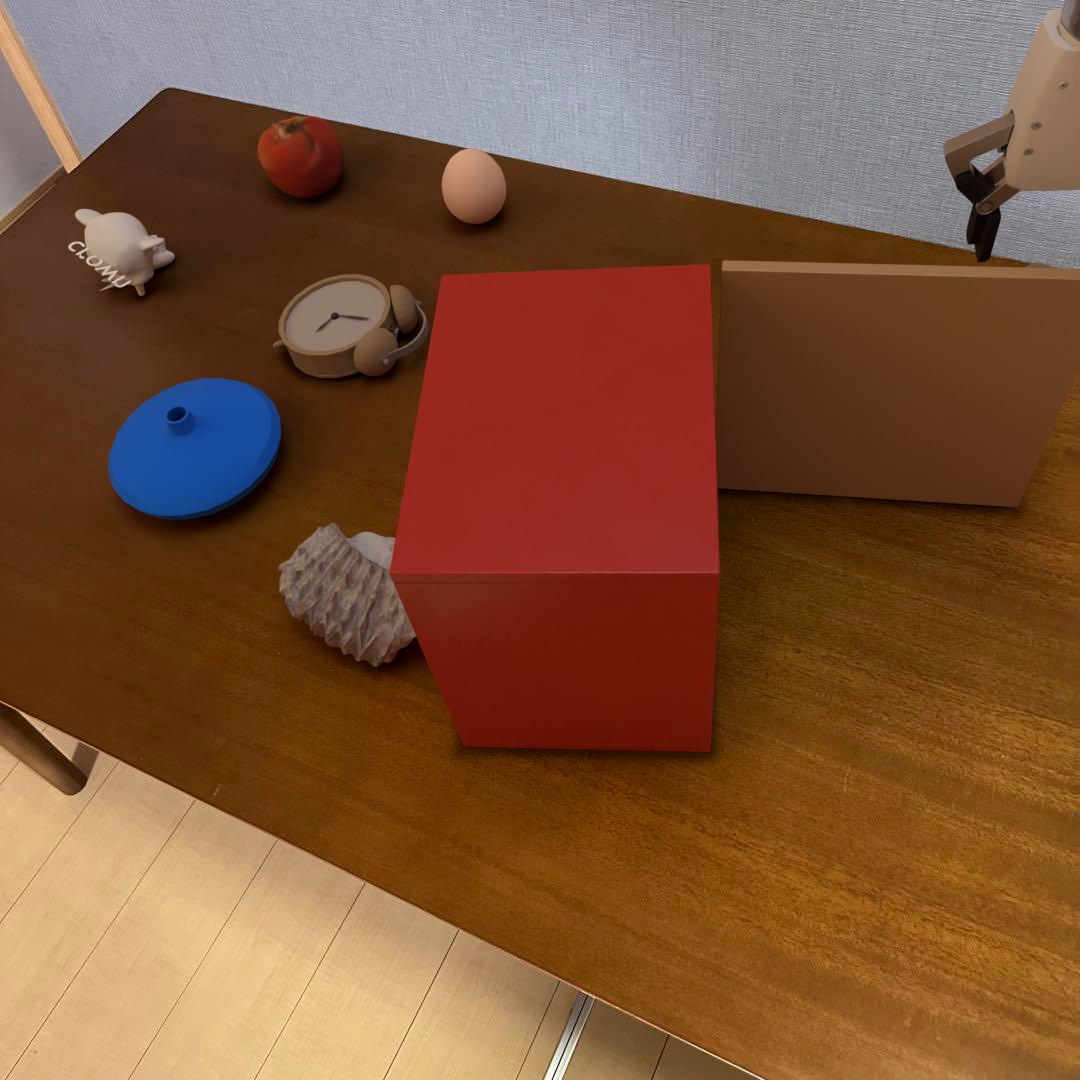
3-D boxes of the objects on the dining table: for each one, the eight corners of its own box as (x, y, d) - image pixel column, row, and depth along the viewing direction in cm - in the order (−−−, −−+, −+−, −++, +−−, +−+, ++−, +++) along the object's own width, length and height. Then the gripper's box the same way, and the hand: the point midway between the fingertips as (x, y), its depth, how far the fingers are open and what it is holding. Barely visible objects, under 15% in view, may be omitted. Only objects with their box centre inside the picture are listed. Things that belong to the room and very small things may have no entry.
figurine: (133, 257, 117) (56, 287, 110) (120, 183, 112) (38, 210, 105) (209, 290, 112) (134, 323, 106) (200, 214, 107) (119, 244, 100)
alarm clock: (306, 269, 105) (435, 269, 99) (328, 306, 109) (453, 308, 103) (255, 349, 99) (389, 353, 93) (280, 385, 103) (409, 392, 97)
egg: (497, 242, 109) (485, 178, 102) (439, 233, 111) (424, 169, 104) (519, 201, 112) (509, 136, 106) (463, 193, 114) (450, 129, 107)
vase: (275, 380, 101) (250, 326, 95) (305, 501, 92) (280, 450, 86) (115, 431, 100) (80, 380, 94) (130, 559, 91) (93, 511, 85)
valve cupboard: (704, 484, 88) (710, 263, 69) (710, 752, 75) (720, 573, 55) (494, 487, 91) (441, 274, 71) (463, 747, 77) (388, 573, 58)
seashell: (480, 591, 81) (391, 565, 73) (424, 695, 82) (330, 680, 74) (373, 514, 90) (284, 483, 82) (324, 608, 91) (231, 587, 83)
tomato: (273, 166, 121) (249, 103, 114) (351, 153, 120) (332, 89, 114) (269, 217, 115) (244, 155, 109) (351, 204, 115) (331, 140, 108)
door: (719, 415, 92) (729, 191, 73) (1009, 430, 88) (1102, 195, 68) (713, 488, 88) (721, 270, 68) (1017, 507, 83) (1119, 280, 64)
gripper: (1289, -44, 59) (1176, 207, 73) (966, -22, 62) (917, 216, 76) (1331, 29, 55) (1203, 281, 69) (982, 49, 58) (928, 287, 71)
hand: (1053, 247), depth 72 cm, fingers open, 9 cm apart
